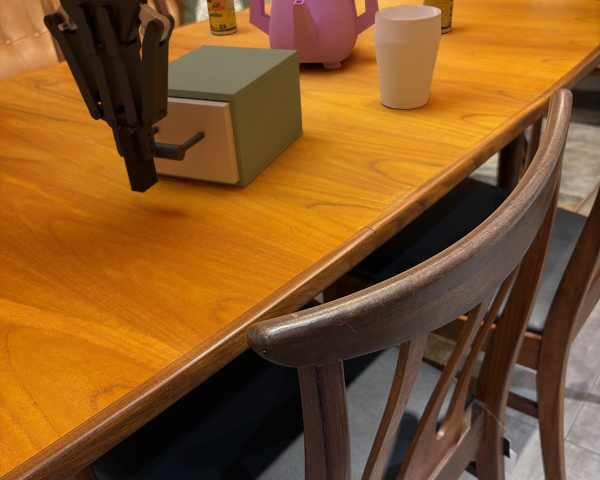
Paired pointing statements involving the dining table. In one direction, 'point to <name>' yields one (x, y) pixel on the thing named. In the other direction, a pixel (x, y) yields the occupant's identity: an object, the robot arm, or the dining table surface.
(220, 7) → the supplement bottle
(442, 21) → the supplement bottle
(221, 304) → the dining table surface
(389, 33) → the cup
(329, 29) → the teapot
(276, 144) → the cabinet
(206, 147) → the drawer
